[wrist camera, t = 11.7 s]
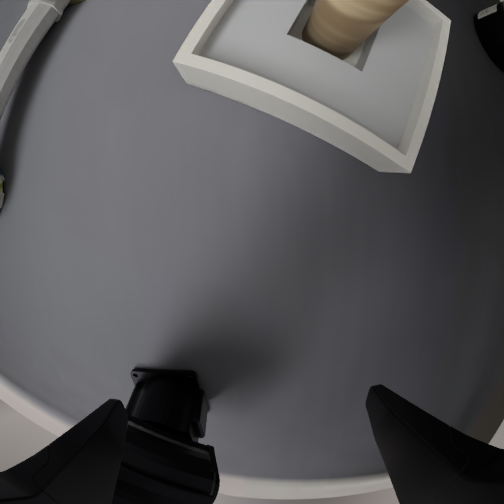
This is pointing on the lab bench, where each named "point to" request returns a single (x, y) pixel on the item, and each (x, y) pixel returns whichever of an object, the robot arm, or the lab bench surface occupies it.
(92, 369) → the lab bench surface
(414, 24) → the box
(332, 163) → the lab bench surface
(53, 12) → the light grey piece
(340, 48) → the peg
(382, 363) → the lab bench surface
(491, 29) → the ink bottle
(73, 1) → the flange
